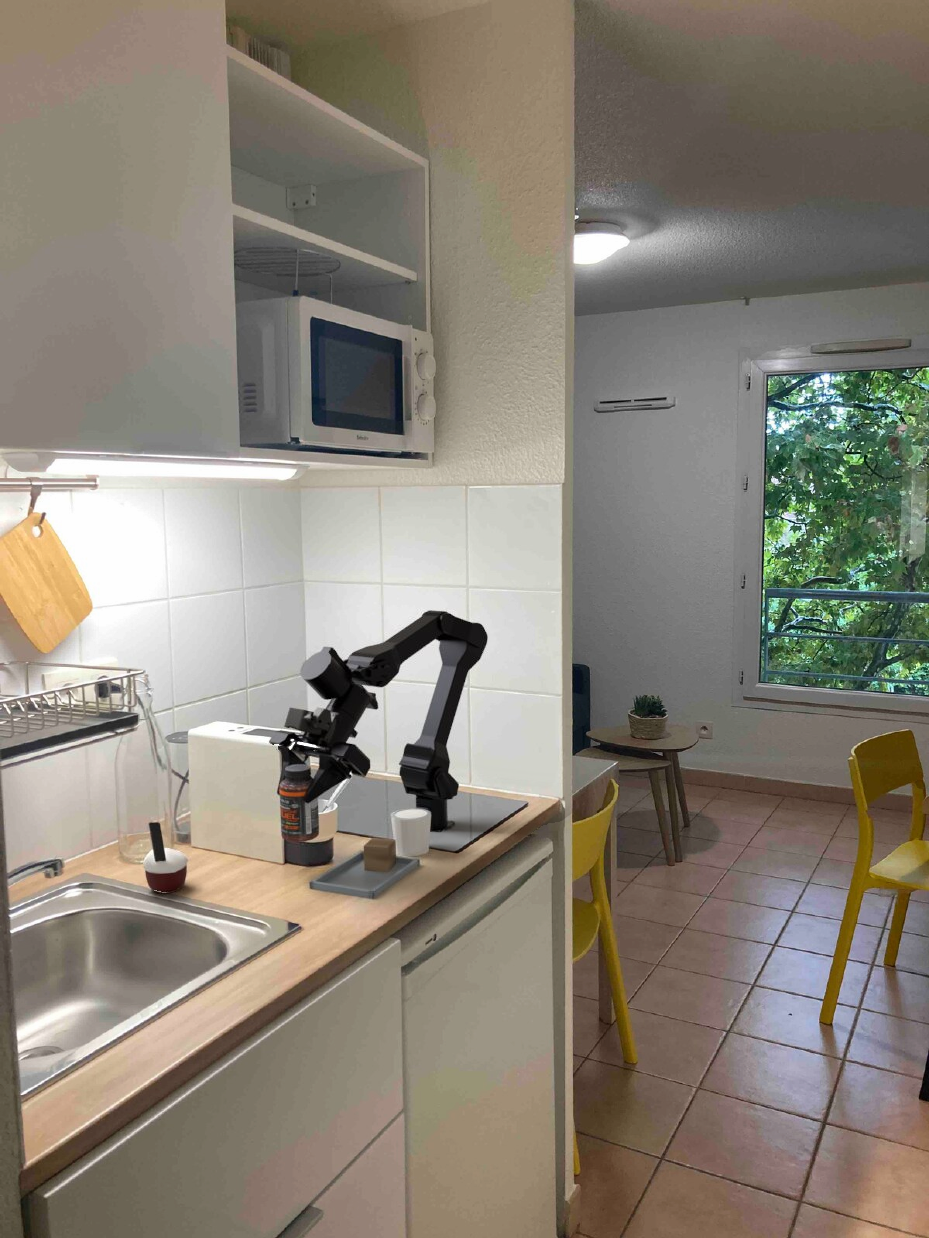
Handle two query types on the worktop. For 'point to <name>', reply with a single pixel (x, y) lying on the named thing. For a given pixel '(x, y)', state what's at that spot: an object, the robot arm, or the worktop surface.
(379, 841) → the walnut block
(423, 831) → the white cup
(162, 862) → the cocoa
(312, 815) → the supplement bottle
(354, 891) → the tray
